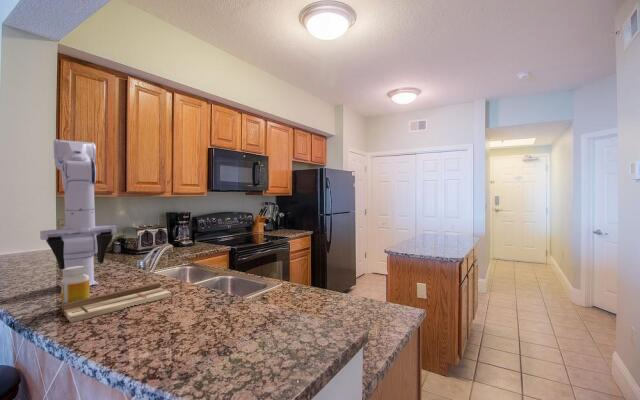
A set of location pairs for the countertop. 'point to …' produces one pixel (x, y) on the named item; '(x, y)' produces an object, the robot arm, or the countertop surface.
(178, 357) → the countertop surface
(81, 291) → the supplement bottle
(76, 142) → the robot arm
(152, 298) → the board
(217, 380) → the countertop surface
